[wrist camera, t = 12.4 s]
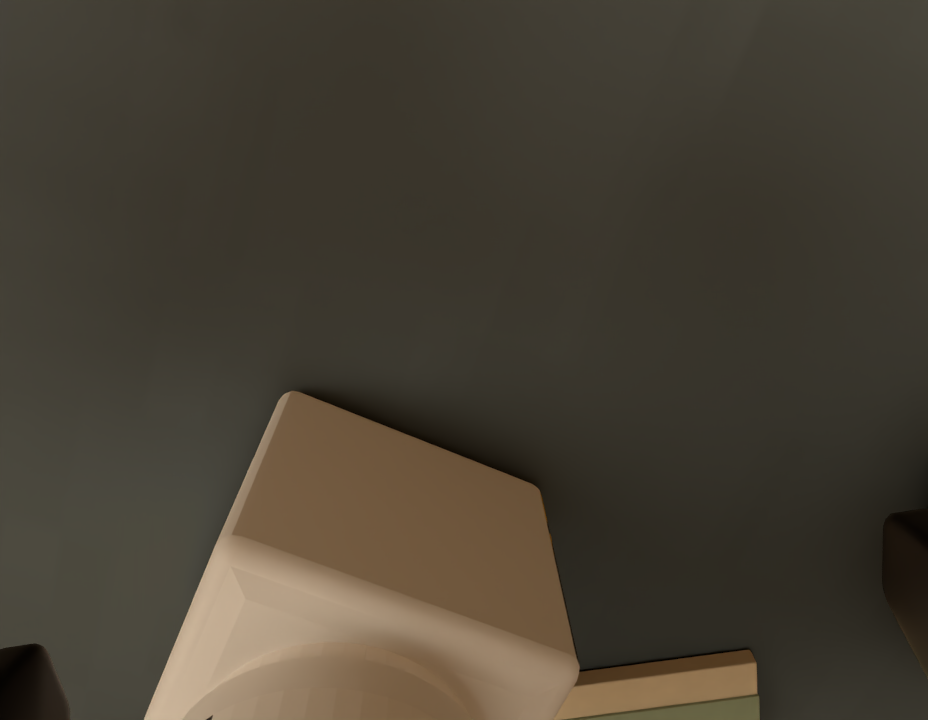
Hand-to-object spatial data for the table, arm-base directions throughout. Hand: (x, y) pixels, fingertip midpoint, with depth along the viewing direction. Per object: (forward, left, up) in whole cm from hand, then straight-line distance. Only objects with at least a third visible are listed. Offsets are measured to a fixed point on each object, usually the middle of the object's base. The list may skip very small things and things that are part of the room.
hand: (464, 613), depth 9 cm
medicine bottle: (+3, +7, -12) cm, 14 cm away
